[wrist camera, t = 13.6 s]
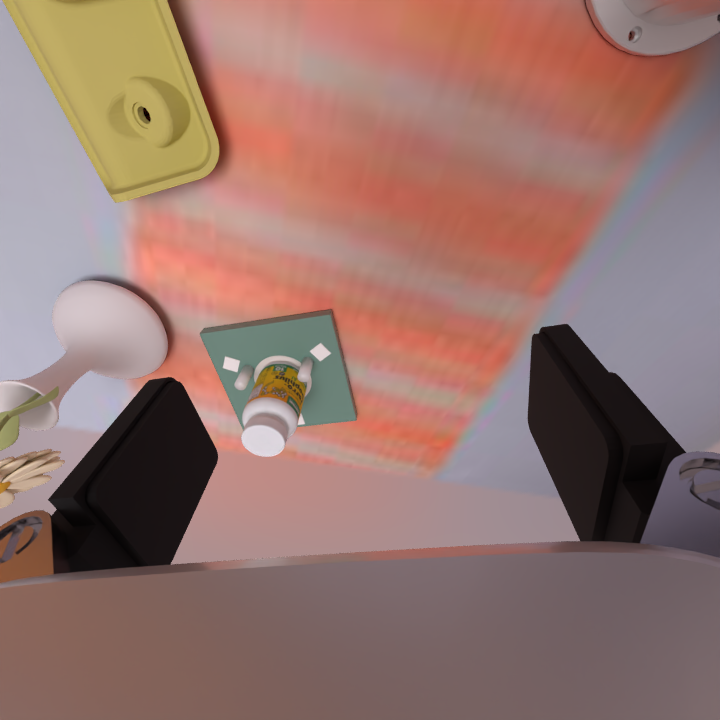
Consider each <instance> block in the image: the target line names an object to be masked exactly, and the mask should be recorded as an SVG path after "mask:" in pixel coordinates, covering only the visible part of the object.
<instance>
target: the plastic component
mask: <svg viewBox="0 0 720 720" xmlns="http://www.w3.org/2000/svg"><path fill="white" fill-rule="evenodd" d="M2 1H3V2H4V4H5V6H6V8H7V10H8V12H9V13H10V15H11V17H12V19H13V21H14V22H15V24H16V26H17V28H18V30H19V32H20V33H21V35H22V37H23V39H24V41H25V42H26V44H27V46H28V48H29V50H30V52H31V53H32V55H33V57H34V59H35V61H36V62H37V64H38V66H39V68H40V70H41V72H42V73H43V75H44V77H45V79H46V81H47V82H48V84H49V86H50V88H51V90H52V91H53V93H54V95H55V97H56V99H57V101H58V102H59V104H60V106H61V108H62V110H63V111H64V113H65V115H66V117H67V119H68V120H69V122H70V124H71V126H72V128H73V130H74V131H75V133H76V135H77V137H78V139H79V140H80V142H81V144H82V146H83V148H84V149H85V151H86V153H87V155H88V157H89V159H90V160H91V162H92V164H93V166H94V168H95V169H96V171H97V173H98V175H99V177H100V178H101V180H102V182H103V184H104V186H105V187H106V189H107V191H108V193H109V194H110V196H111V197H112V199H113V200H114V202H116V203H117V202H123V201H127V200H131V199H134V198H138V197H141V196H144V195H148V194H151V193H154V192H158V191H161V190H165V189H168V188H171V187H175V186H178V185H181V184H185V183H188V182H191V181H195V180H198V179H202V178H203V177H205V176H207V175H208V174H209V173H210V172H211V171H212V170H213V169H214V168H215V166H216V164H217V162H218V157H219V143H218V138H217V135H216V132H215V130H214V127H213V124H212V122H211V119H210V116H209V113H208V111H207V108H206V105H205V102H204V100H203V97H202V94H201V92H200V89H199V86H198V83H197V81H196V78H195V75H194V72H193V70H192V67H191V64H190V62H189V59H188V56H187V53H186V51H185V48H184V45H183V42H182V40H181V37H180V34H179V32H178V29H177V26H176V23H175V21H174V18H173V15H172V13H171V10H170V7H169V4H168V2H167V0H2ZM143 107H144V108H146V110H147V111H148V112H149V114H150V118H151V120H150V122H149V121H148V120H147V119H146V117H145V116H144V113H143Z"/></svg>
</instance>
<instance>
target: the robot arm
mask: <svg viewBox="0 0 720 720" xmlns="http://www.w3.org/2000/svg"><path fill="white" fill-rule="evenodd" d="M585 1H586V6H587V9H588V11H589V14H590V16H591V18H592V21H593V23H594V25H595V26H596V28H597V29H598V30H599V32H600V33H601V34H602V36H603V37H604V38H605V39H606V40H607V41H608V42H610V43H611V44H612V45H614V46H615V47H616V48H618V49H620V50H622V51H625V52H627V53H630V54H633V55H641V56H658V55H667V54H671V53H675V52H679V51H683V50H686V49H688V48H691V47H693V46H696V45H698V44H700V43H703V42H704V41H706V40H708V39H709V38H711V37H712V36H714V35H716V34H717V33H719V32H720V0H585ZM718 14H719V17H718V19H717V16H718ZM630 32H631V33H632V37H631V39H630V40H629V39H628V35H629V33H630ZM528 424H529V428H530V431H531V434H532V436H533V438H534V440H535V442H536V445H537V447H538V449H539V451H540V453H541V456H542V458H543V460H544V462H545V464H546V467H547V469H548V471H549V473H550V475H551V478H552V480H553V482H554V484H555V486H556V488H557V491H558V493H559V495H560V497H561V499H562V502H563V504H564V506H565V508H566V510H567V513H568V515H569V517H570V519H571V521H572V524H573V526H574V528H575V530H576V532H577V535H578V536H579V539H580V541H578V542H576V541H574V542H573V541H572V542H570V541H566V542H541V543H518V544H495V545H473V546H457V547H440V548H424V549H406V550H389V551H374V552H373V551H372V552H355V553H339V554H323V555H308V556H292V557H277V558H262V559H246V560H232V561H217V562H202V563H187V564H174V565H170V564H171V562H172V560H173V558H174V555H175V553H176V551H177V549H178V547H179V545H180V542H181V540H182V538H183V536H184V534H185V531H186V529H187V527H188V525H189V523H190V521H191V518H192V516H193V514H194V511H195V510H196V507H197V505H198V503H199V501H200V499H201V497H202V494H203V492H204V490H205V488H206V486H207V483H208V481H209V479H210V477H211V475H212V473H213V470H214V468H215V466H216V464H217V460H218V453H217V450H216V448H215V446H214V444H213V442H212V440H211V438H210V436H209V434H208V432H207V430H206V428H205V427H204V425H203V423H202V421H201V419H200V417H199V415H198V413H197V411H196V409H195V407H194V405H193V403H192V402H191V400H190V398H189V396H188V394H187V392H186V390H185V388H184V386H183V385H182V383H180V382H178V381H176V380H175V379H174V378H171V377H168V378H161V379H153V380H149V381H148V382H147V383H146V384H145V385H144V387H143V388H142V389H141V390H140V391H139V392H138V394H137V395H136V396H135V397H134V398H133V400H132V401H131V402H130V403H129V404H128V406H127V407H126V408H125V409H124V410H123V411H122V413H121V414H120V415H119V416H118V417H117V419H116V420H115V421H114V422H113V423H112V424H111V426H110V427H109V428H108V429H107V430H106V432H105V433H104V434H103V435H102V436H101V438H100V439H99V440H98V441H97V442H96V443H95V445H94V446H93V447H92V448H91V449H90V451H89V452H88V453H87V454H86V455H85V457H84V458H83V459H82V460H81V461H80V463H79V464H78V465H77V466H76V467H75V468H74V470H73V471H72V472H71V473H70V474H69V475H68V477H67V478H66V479H65V480H64V481H63V483H62V484H61V485H60V486H59V487H58V489H57V490H56V491H55V492H54V493H53V494H52V496H51V497H50V498H49V499H48V500H49V501H50V502H51V503H52V504H53V505H54V507H56V509H57V510H56V511H55V512H54V514H53V515H52V516H51V515H50V514H49V513H48V512H45V511H43V510H36V511H31V512H28V513H24V514H22V515H20V516H18V517H15V518H13V519H11V520H10V521H8V522H7V523H5V524H3V525H2V526H0V720H720V454H717V453H713V452H699V451H696V452H690V453H686V452H685V451H684V450H683V449H682V447H681V446H680V445H679V444H678V443H677V442H676V441H675V439H674V438H673V437H672V436H671V435H670V434H669V433H668V431H667V430H666V429H665V428H664V427H663V426H662V424H661V423H660V422H659V421H658V420H657V419H656V418H655V416H654V415H653V414H652V413H651V412H650V411H649V410H648V408H647V407H646V406H645V405H644V404H643V403H642V402H641V400H640V399H639V398H638V397H637V396H636V395H635V394H634V392H633V391H632V390H631V389H630V388H629V387H628V386H627V384H626V383H625V382H624V381H623V380H622V379H621V378H620V377H619V376H618V375H617V374H616V373H612V372H610V373H609V372H608V371H607V370H606V368H605V367H604V366H603V365H602V364H601V363H600V361H599V360H598V359H597V358H596V357H595V356H594V354H593V353H592V352H591V351H590V350H589V348H588V347H587V346H586V345H585V344H584V343H583V341H582V340H581V339H580V338H579V337H578V335H577V334H576V333H575V332H574V331H573V330H572V328H571V327H570V326H569V325H568V324H562V325H555V326H548V327H542V328H541V329H540V332H539V334H534V335H533V337H532V346H531V365H530V384H529V404H528Z"/></svg>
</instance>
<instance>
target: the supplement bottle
mask: <svg viewBox="0 0 720 720" xmlns="http://www.w3.org/2000/svg"><path fill="white" fill-rule="evenodd" d="M299 370H300V368H299V367H297V366H296V365H294V364H291V363H288V362H280V361H277V362H272V363H269V364H268V365H266V366H265V367H264V368H263V369H262V370H261V372H260V374H259V376H258V378H257V380H256V383H255V385H254V387H253V390H252V392H251V394H250V396H249V399H248V401H247V403H246V406H245V408H244V411H243V414H242V421H243V425H244V430H243V433H242V436H241V440H242V443H243V445H244V447H245V448H246V449H247V450H248V451H250V452H251V453H253V454H255V455H258V456H263V457H270V456H275V455H277V454H279V453H280V452H281V451H282V450H283V449H284V447H285V444H286V441H287V439H288V438H289V437H291V436H292V435H293V434H294V432H295V431H296V428H297V425H298V421H299V417H300V413H301V409H302V405H303V401H304V397H305V393H306V389H307V382H301V381H299V380H298V378H297V376H298V373H299Z"/></svg>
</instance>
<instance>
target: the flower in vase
mask: <svg viewBox="0 0 720 720" xmlns="http://www.w3.org/2000/svg"><path fill="white" fill-rule="evenodd" d="M52 321H53V326H54V330H55V332H56V335H57V338H58V340H59V342H60V344H61V345H62V347H63V348H64V350H65V351H66V353H65V355H64V356H63V357H62V358H60V359H59V360H58V361H57V362H56V363H54V364H53V365H51V366H50V367H48V368H47V369H45V370H43V371H42V372H40V373H38V374H36V375H34V376H32V377H29V378H26V379H23V380H7V381H2V382H0V451H1V450H3V449H5V448H7V447H9V446H10V445H12V444H13V443H14V442H15V441H16V440H17V438H18V435H19V426H21V427H23V428H26V429H30V430H37V431H44V430H49V429H51V428H53V427H54V426H55V425H56V424H57V422H58V419H59V410H58V409H59V405H60V402H61V400H62V398H63V397H64V395H65V393H66V392H67V391H68V390H69V388H70V387H71V386H72V385H73V384H74V383H75V382H76V381H77V380H78V379H79V378H80V377H81V376H82V375H84V374H85V373H86V372H88V371H92V372H94V373H97V374H100V375H103V376H106V377H111V378H117V379H135V378H140V377H143V376H145V375H148V374H150V373H152V372H154V371H156V370H157V369H158V368H159V367H160V366H161V365H162V364H163V362H164V360H165V358H166V356H167V352H168V340H167V335H166V332H165V329H164V326H163V324H162V322H161V320H160V318H159V317H158V315H157V314H156V312H155V311H154V310H153V309H152V308H151V307H150V306H149V305H148V304H147V303H146V302H145V301H144V300H143V299H142V298H140V297H139V296H137V295H136V294H134V293H133V292H131V291H129V290H127V289H125V288H123V287H120V286H118V285H114V284H111V283H108V282H103V281H94V280H90V281H81V282H77V283H74V284H72V285H70V286H68V287H67V288H65V289H64V290H63V291H62V292H61V293H60V295H59V296H58V298H57V300H56V302H55V304H54V307H53V311H52ZM51 451H52V450H51V449H47V450H43V451H40V452H36V451H35V452H30V453H27V454H24V455H21V456H19V457H17V458H14V457H8V458H6V459H3V460H1V461H0V508H4V507H6V506H8V505H9V504H11V503H12V502H13V501H14V499H15V496H14V494H15V493H18V492H24V491H27V490H30V489H31V488H33V487H34V486H39V485H42V484H44V483H46V482H48V481H49V480H51V478H52V477H51V476H48V475H43V473H46V472H50V471H53V470H55V469H57V468H59V467H61V466H62V464H64V463H65V461H64V460H59V459H60V457H57V455H59V454H60V453H61V452H60V451H53V452H51Z"/></svg>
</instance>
